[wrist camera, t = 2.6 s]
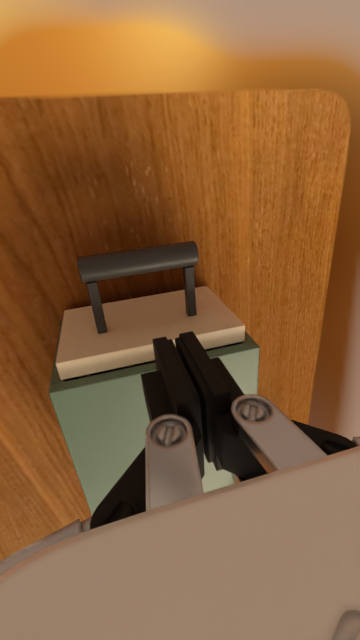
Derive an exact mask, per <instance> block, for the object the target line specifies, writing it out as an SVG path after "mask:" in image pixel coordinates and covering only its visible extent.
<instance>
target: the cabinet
mask: <svg viewBox="0 0 360 640" xmlns="http://www.w3.org/2000/svg"><path fill="white" fill-rule="evenodd" d="M62 322H63V320H62V321H61V324H60V331H59V337H58V342H57V348H56V354H55V359H54V365H53V371H52V376H51V382H50V388H49V396H50V399H51V402H52V405H53V407H54V410H55V413H56V416H57V419H58V422H59V424H60V427H61V430H62V433H63V436H64V438H65V441H66V444H67V447H68V450H69V452H70V455H71V458H72V461H73V464H74V467H75V469H76V472H77V475H78V478H79V481H80V483H81V486H82V489H83V492H84V495H85V498H86V500H87V503H88V506H89V509H90V512H91V514H92V515H93V513H94V511H95V510H96V508H97V506H98V505H99V504H100V503H101V501H102V500H103V499H104V498H105V496H106V495H107V494H108V493H109V491H110V490H111V489H112V487H113V486H114V485H115V484H116V482H117V481H118V480H119V479H120V477H121V476H122V475H123V474H124V472H125V471H126V470H127V469H128V467H129V466H130V465H131V464H132V462H133V461H134V460H135V459H136V457H137V456H138V455H139V454H140V452H141V451H142V450H143V449H144V447H145V433H146V428H147V427H148V425H149V423H150V420H149V415H148V411H147V407H146V402H145V397H144V392H143V386H142V380H141V374H144V373H148V372H153V371H157V370H156V363H155V362H154V363H149V364H145V365H140V366H136V367H131V368H126V369H122V370H117V371H112V372H108V373H103V374H98V375H94V376H89V377H84V378H80V376H79V377H74V378H69V379H65V380H61V379H60V376H59V373H58V370H57V367H56V358H57V352H58V346H59V340H60V334H61V328H62ZM259 350H260V347H259V346H258V345H257V344H256V342H255V341H254V340H253V339H252V338H251V337H250V336H249V335H248V334H247V333H246V332H245V341H242V342H238V343H233V344H228V345H224V348H219V349H215V350H210V351H206V353H207V354H208V356H209V357H210V359H212V358H216V357H218V358H220V359H221V361H222V362H223V364H224V365H225V367H226V368H227V370H228V371H229V373H230V374H231V376H232V377H233V378H234V380H235V381H236V383H237V384H238V386H239V387H240V389H241V390H242V392H243V393H244V395H246V394H256V395H257V389H258V369H259ZM79 378H80V379H79ZM204 471H205V475H204V477H203V478H202V486H203V491H204V493H206V492H210V491H213V490H216V489H219V488H223V487H226V486H229V485H232V484H235V483H234V481H233V479H232V475H231V473H230V472H228V471H226V470H224V469H223V470H219V471H216V468H215V466H214V463H213V462H211V463H208V462H207V459H206V457H205V454H204Z"/></svg>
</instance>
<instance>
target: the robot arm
mask: <svg viewBox="0 0 360 640" xmlns="http://www.w3.org/2000/svg"><path fill="white" fill-rule="evenodd" d="M175 346H176V347H175ZM153 349H154V356H155V363H156V370H157V371H153V372H148V373H144V374H141V380H142V386H143V392H144V397H145V402H146V407H147V411H148V415H149V420H150V423H149V425H148V427H147V428H146V433H145V447H144V449H143V450H142V451H141V452H140V454H139V455H138V456H137V457H136V459H135V460H134V461H133V462H132V464H131V465H130V466H129V467H128V469H127V470H126V471H125V472H124V474H123V475H122V476H121V477H120V479H119V480H118V481H117V482H116V484H115V485H114V486H113V487H112V489H111V490H110V491H109V493H108V494H107V495H106V496H105V498H104V499H103V500H102V501H101V503H100V504H99V505H98V506H97V508H96V510H95V511H94V513H93V515H92V517H90V518H88V519H86V520H84V521H82V522H80V520H79V519H78V520H76V521H74V522H72V523H70V524H69V525H67V526H65V527H63V528H61V529H59V530H57V531H55V532H53V533H52V534H50V535H48V536H46V537H44V538H42V539H40V540H38V541H37V542H35V543H33V544H31V545H29V546H27V547H25V548H23V549H22V550H20V551H18V552H16V553H14V554H12V555H10V556H8V557H7V558H5V559H4V560H3V561H1V562H0V640H360V437H353V440H352V441H350V440H349V439H347V438H345V437H343V436H340V435H338V434H334V433H331V432H328V431H325V430H322V429H319V428H315V427H312V426H309V425H306V424H303V423H300V422H297V421H293V420H290V419H289V418H288V417H287V416H286V415H285V414H284V413H283V412H282V411H281V410H280V409H279V408H278V407H277V406H276V405H275V404H273V403H272V402H271V401H270V400H269V399H267V398H265V397H263V396H261V395H256V394H246V395H244V393H243V392H242V390H241V389H240V387H239V386H238V384H237V383H236V381H235V380H234V378H233V377H232V376H231V374H230V373H229V371H228V370H227V368H226V367H225V365H224V364H223V362H222V361H221V359H220V358H218V357H216V358H212V359H210V357H209V356H208V354H207V353H206V351H205V350H204V348H203V346H202V345H201V343H200V342H199V340H198V338H197V337H196V335H195V334H194V332H193V331H190V332H185V333H180V334H179V337H178V338H175V345H174V343H173V341H172V339H168V340H167V338H166V336H165V337H160V338H155V339H153ZM204 454H205V457H206V459H207V462H208V463H211V462H213V463H214V466H215V468H216V471H219V470H223V469H224V470H226V471H228V472H230V473H231V475H232V479H233V481H234V483H235V484H232V485H229V486H226V487H223V488H219V489H216V490H213V491H210V492H206V493H204V491H203V486H202V478H203V477H204V475H205V471H204Z"/></svg>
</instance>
